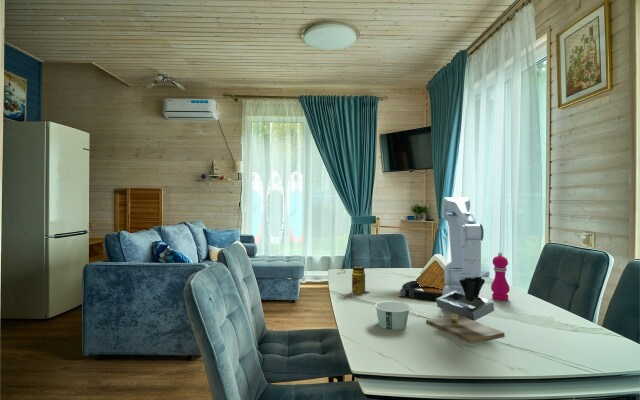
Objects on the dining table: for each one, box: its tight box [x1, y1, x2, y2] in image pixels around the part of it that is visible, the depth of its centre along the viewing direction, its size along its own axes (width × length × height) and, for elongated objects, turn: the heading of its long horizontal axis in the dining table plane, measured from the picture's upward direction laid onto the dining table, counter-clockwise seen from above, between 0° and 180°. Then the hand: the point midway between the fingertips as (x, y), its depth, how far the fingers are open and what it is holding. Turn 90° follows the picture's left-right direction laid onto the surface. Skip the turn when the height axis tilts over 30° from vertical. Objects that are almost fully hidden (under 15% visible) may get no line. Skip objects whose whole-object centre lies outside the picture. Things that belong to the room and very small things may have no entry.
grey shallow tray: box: [436, 290, 495, 322], centre depth 122 cm, size 16×9×3 cm, turn 25°
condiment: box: [348, 266, 371, 296], centre depth 169 cm, size 7×8×12 cm
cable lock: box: [399, 280, 443, 301], centre depth 168 cm, size 28×4×30 cm
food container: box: [374, 300, 411, 331], centre depth 125 cm, size 12×12×7 cm
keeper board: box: [425, 312, 506, 344], centre depth 121 cm, size 20×14×4 cm
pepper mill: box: [490, 252, 510, 302], centre depth 158 cm, size 7×7×20 cm
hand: (471, 300), depth 123 cm, fingers closed on grey shallow tray, 2 cm apart
